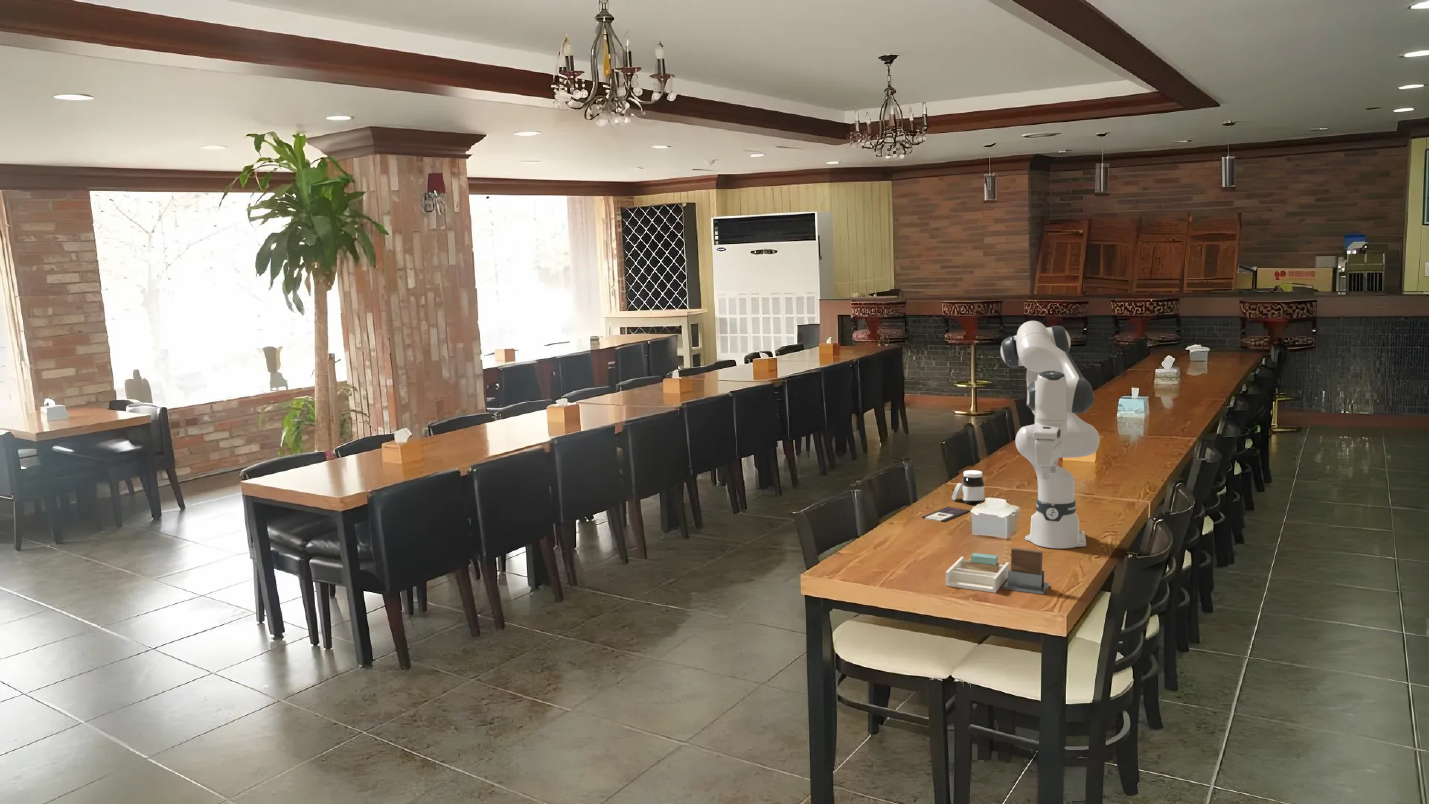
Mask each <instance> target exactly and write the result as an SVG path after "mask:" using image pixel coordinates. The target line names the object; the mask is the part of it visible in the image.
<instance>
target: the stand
mask: <svg viewBox="0 0 1429 804" xmlns="http://www.w3.org/2000/svg"><path fill="white" fill-rule="evenodd" d="M1041 585H1042V586H1041ZM1049 587H1050V583H1049V582H1045V570H1042V575H1040V574H1033V573H1025V572H1017V571H1011V570H1010V569H1009V570H1008V578H1007V579H1006V580H1005V582H1004V583H1003V584H1002V590H1007V591H1009V590H1010V591H1015V592H1022V593H1028V594H1035V595H1036V594H1038V595H1045V593H1046V591H1047V589H1048V588H1049Z"/></svg>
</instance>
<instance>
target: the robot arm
mask: <svg viewBox="0 0 1429 804" xmlns="http://www.w3.org/2000/svg"><path fill="white" fill-rule="evenodd" d="M1071 344H1072V343H1071V336H1070V335H1069V332H1068V331H1067V330H1066V328H1065V327H1064V326H1062V325H1051V326H1049V327H1046V326H1045V325H1044V324H1043V323H1042V322H1041V321H1037V320H1029V321H1026V322H1023V323H1022V324H1021V325H1020V326H1019V327H1018V330H1017V332H1016V335H1013V336H1012V335H1010V336H1008V337H1006V338H1004V340H1002V342H1001V346H1000V356H1001V359H1002V361H1003V362H1004V363H1005V365H1006V366H1007V367H1009V368H1020V367H1024V368H1025V369H1026V379H1025V380H1026V404H1025V405H1026V407H1028V408H1029V409H1030V410H1031V412H1032V414H1033V416H1034V423H1033V424H1030V425H1025V426H1021V428H1019V430H1018V431H1017V433H1016V436H1015V440H1014V441H1015V447H1016V449H1017V451H1018V453H1019V454H1020V455H1021V456H1022V457H1023V458H1025V459H1027V460H1028V462H1029V463H1030V464H1031V466H1032V467H1033V469H1034V471H1035V473H1036V474H1035V475H1036V477H1037V478H1036V479H1037V498H1036V502H1035V506H1036V508H1035V509H1036V511H1035V513H1033V514H1032V515H1031V516H1030V517H1031V518H1030V533H1029V534H1027V535H1025V537H1024V539H1025V541H1029V542H1031V543H1033V544H1034V545H1036V546H1039V547H1043V548H1050V549H1071V548H1077V547H1078V548H1079V547H1081V548H1082V547H1083V548H1084V547H1087V541H1086V540H1087V539H1086V534H1085V533H1086V532H1085V531H1083V530H1082V529H1080V519H1079V517H1078V515H1077V513H1076V512H1077V501H1076V500H1075V499H1076V497H1075V494H1076V493H1075V492H1076V489H1075V486H1076V484H1075V483H1076V480H1075V477H1074V475H1073V473H1071V471H1069V470H1067V469H1065V468H1063V467H1060V466H1059V465H1058V461H1059V459H1063V458H1081V457H1087V456H1090V455H1091V456H1092V455H1093V454H1095V453H1096V452H1097V450H1098V448H1099V446H1100V442H1101V441H1100V439H1101V438H1100V434H1099V432H1098V430H1097V429H1096V428H1095V426H1093V425H1092V424H1090V423H1088V422H1086V421H1084V420H1082V418H1080V417H1079V416H1078V415H1077V414H1080V415H1082V414H1084V413H1086V412H1088V410H1090V409H1091V408H1092V407H1093V405H1094V398H1095V395H1094V390H1093V386H1092V385H1091V384H1090V382H1089V381H1088V380H1087V379H1086V378H1085V377H1084V375H1083V373H1082V372H1081V371H1080V369H1079V368H1078V366H1077V364H1076V363H1075V360H1073V359H1072V357H1071V355H1070V354H1069V352H1070V351H1071V349H1070V348H1071Z"/></svg>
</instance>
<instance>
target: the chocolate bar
mask: <svg viewBox="0 0 1429 804" xmlns="http://www.w3.org/2000/svg"><path fill="white" fill-rule="evenodd" d="M967 513H970V510H969V509H962V508H957V507H952V506H951V507H950V506H946V507H944V508H941V509H937V510H936V511H933V512H930V513H927V514H926V515H923V516H921V519H923V520H924V519H925V520H930V521H936V522H941V523H945V522H948V521H950V520H952V519H956V518H958V517H961V516H963V515H965V514H967Z"/></svg>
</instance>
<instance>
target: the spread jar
mask: <svg viewBox="0 0 1429 804" xmlns="http://www.w3.org/2000/svg"><path fill="white" fill-rule="evenodd" d="M983 478H984V477H983V472H982V471H981V470H974V469H971V470H964V471H963V477H962V479H961V482H958V483H957V484H956V486H955V488H954V490H953V493H952V496H951V500H953V501H956V500H957V499H958V497H959V495H960V492H961V500H962V502H963V503H964V504H967V505H979V504H978V503H980V502H982V501H983V502H984V501H985V482H984V479H983Z"/></svg>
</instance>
